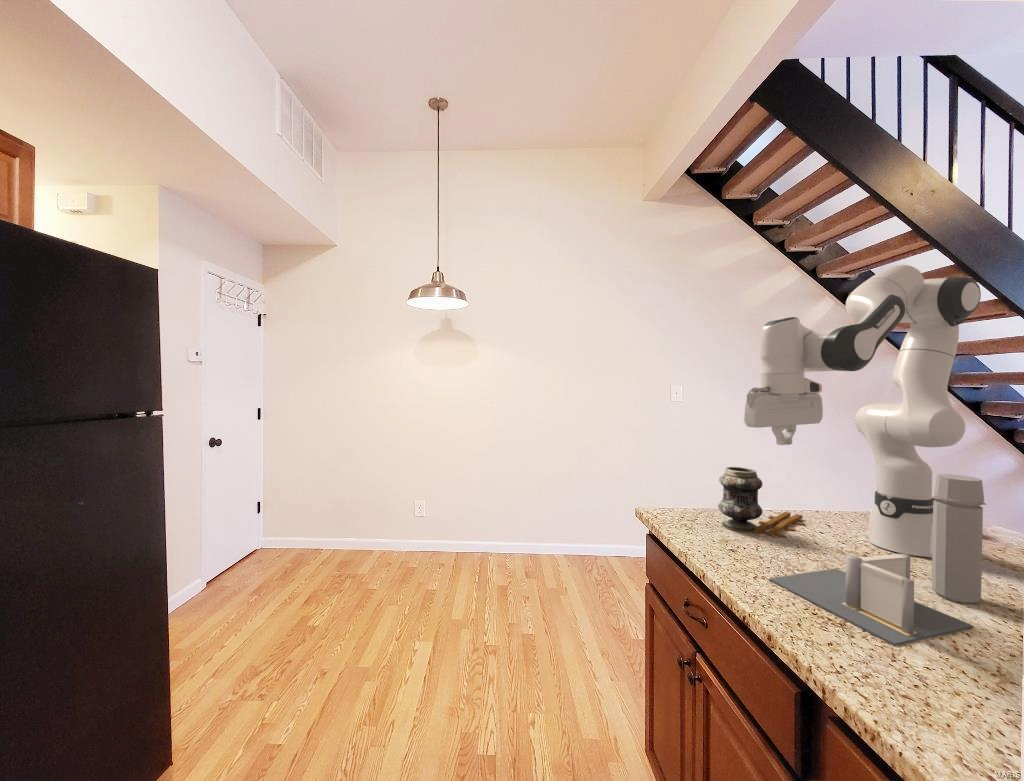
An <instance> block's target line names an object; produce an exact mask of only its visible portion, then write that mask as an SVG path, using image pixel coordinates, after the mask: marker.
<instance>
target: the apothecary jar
mask: <svg viewBox="0 0 1024 781" xmlns="http://www.w3.org/2000/svg"><path fill="white" fill-rule="evenodd" d="M724 470H725V471H724V473H723V474H722V475H720V477H719V483H720V484H721V485H722V486H723V487H722V488H723V492H722V499H721V500H720V501H719V502H718V504H717V507H718V510H719V511H720V512H721V514H723V515H724V516H726V517H728V518H730V519H727V520H725V521H723V522H722V523H721V525H722V526H723V527H724V528H726V529H728V530H732V531H735V532H742V533H744V532H745V533H753V532H755V531H754V528H755V527H757V526H758V525H756V524H754V523H752V522H750V521H752V520H756V519H758V518H760V517H761V516H762V515H763V508H762V507H761V506H760V504H759V498H758V497H759V495H758V494H759V490H760V489H761V488H762V487H763V480H761V478H760V477H759V476H758V474H757V470H755V469H753V468H749V467H742V466H727V467H726V466H725V469H724Z"/></svg>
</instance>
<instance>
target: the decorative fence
mask: <svg viewBox="0 0 1024 781" xmlns="http://www.w3.org/2000/svg"><path fill="white" fill-rule="evenodd" d="M803 518H804V516H803V514H799V513H797V514H794V515H791V512H789V511H788V512H787V511H784V512H782V513H780V514H778V515H777V516H773V515H770V516H768V519H769V520H767V521H763V520H759V521H758V524H759V525H756V526H757V527H755V528H754V532H758V533H761V534H766V535H769V536H773V537H776V538H782V537H783V539H786V538H787V535H785V534H783V533H781V531H783V530H784V529H785V530H786V531H789V532H790V531H791V532H795V531H796V532H797V529H796V528H794V527H790V526H789V525H791V524H792V525H796V524H797V526H804V527H805V526H806V523H803V522H801V521H800V520H802V519H803ZM769 528H770V529H769Z"/></svg>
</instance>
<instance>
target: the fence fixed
mask: <svg viewBox="0 0 1024 781" xmlns="http://www.w3.org/2000/svg"><path fill="white" fill-rule="evenodd" d="M859 557H860V556H855V555H848V554H847V555H846V556H845V572H846V603H845V604H846V605H847V606H849V607H851V608H855V609H860V608H861V609H864V610H866V611H868V612H870V613H872V614H874V615H876V616H878V617H880V618H882V619H884V620H886V621H889V622H891V623H893V624H895V625H897V626H899V627H901V631H903V632H904V633H907V634H913V625H914V601H915V581H914V580H912V579H911V578H910V579H907V578H905V577H902V576H899V575H897V574H894V573H891V572H889V571H886V570H884V569H881V568H878V567H876V566H873V565H870V564H868V563H864V564H862V559H861V558H859Z"/></svg>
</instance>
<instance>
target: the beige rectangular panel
mask: <svg viewBox="0 0 1024 781" xmlns="http://www.w3.org/2000/svg"><path fill="white" fill-rule="evenodd" d="M911 556H912V555H908V554H903V553H896V554H895V553H894V554H885V555H883V554H882V555H881V554H880V555H872V556H861V557H860V556H858V557H859V558H861V559H862V564H864V563H868V564H870V565H873V566H876V567H878V568H881V569H884V570H886V571H889V572H891V573H894V574H897V575H899V576H902V577H905V578H907V579H910V580H911Z"/></svg>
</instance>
